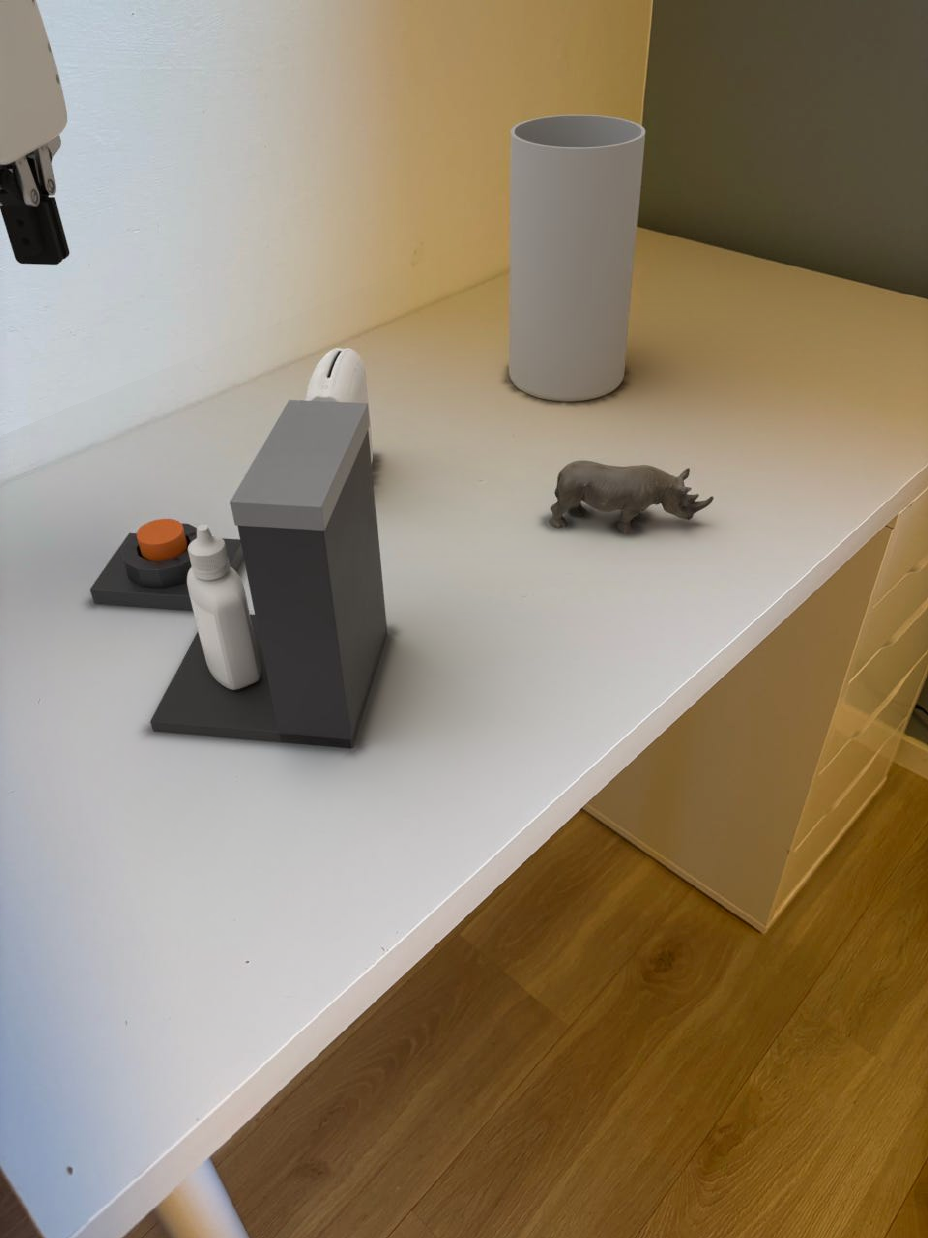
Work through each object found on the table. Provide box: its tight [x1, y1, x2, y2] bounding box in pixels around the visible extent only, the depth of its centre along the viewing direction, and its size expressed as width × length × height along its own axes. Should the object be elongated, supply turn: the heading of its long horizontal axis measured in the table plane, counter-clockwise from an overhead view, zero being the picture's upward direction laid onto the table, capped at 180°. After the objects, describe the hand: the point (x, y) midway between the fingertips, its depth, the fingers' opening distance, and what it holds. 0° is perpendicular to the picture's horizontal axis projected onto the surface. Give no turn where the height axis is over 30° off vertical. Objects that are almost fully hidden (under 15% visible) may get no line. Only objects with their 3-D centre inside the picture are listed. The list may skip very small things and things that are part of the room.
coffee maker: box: [149, 399, 388, 749], centre depth 66 cm, size 14×12×19 cm
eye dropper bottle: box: [187, 524, 261, 690], centre depth 68 cm, size 4×6×12 cm
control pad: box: [89, 522, 244, 612], centre depth 81 cm, size 10×8×4 cm
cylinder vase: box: [508, 114, 646, 403], centre depth 101 cm, size 12×12×25 cm
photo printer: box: [305, 347, 374, 464], centre depth 89 cm, size 10×4×12 cm, turn 175°
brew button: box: [136, 518, 187, 561], centre depth 79 cm, size 4×4×2 cm
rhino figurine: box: [548, 459, 715, 535], centre depth 85 cm, size 4×14×6 cm, turn 82°
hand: (43, 259), depth 69 cm, fingers closed
